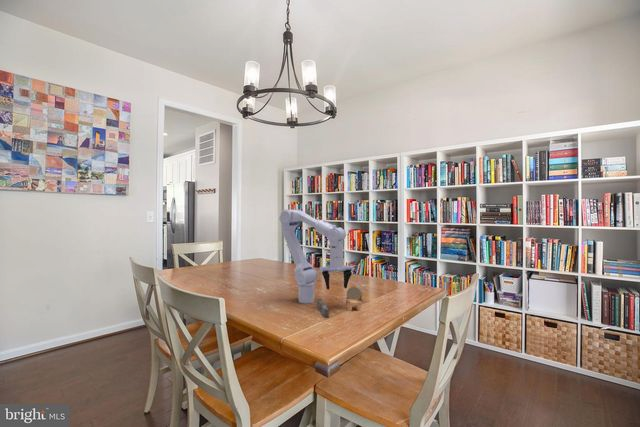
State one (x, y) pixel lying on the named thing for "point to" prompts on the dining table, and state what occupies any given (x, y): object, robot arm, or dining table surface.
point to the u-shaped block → (352, 304)
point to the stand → (323, 308)
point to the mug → (354, 293)
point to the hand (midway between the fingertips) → (336, 288)
